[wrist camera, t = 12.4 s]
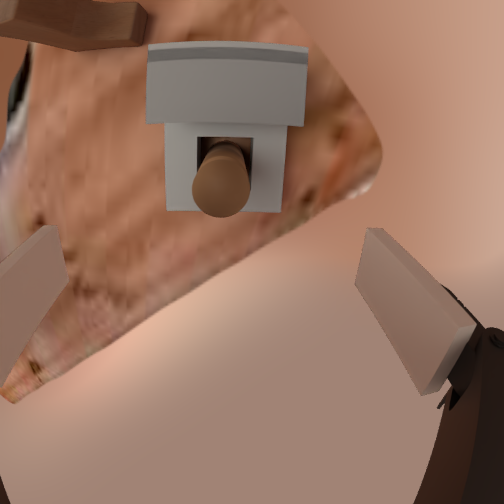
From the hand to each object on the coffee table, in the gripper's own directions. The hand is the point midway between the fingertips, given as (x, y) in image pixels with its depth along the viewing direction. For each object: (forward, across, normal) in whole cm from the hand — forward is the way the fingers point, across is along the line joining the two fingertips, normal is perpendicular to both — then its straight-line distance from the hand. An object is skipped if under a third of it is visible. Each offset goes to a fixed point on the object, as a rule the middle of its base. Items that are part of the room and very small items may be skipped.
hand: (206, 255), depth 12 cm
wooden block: (+24, -13, +16) cm, 32 cm away
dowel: (+24, 0, 0) cm, 24 cm away
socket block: (+24, +1, +3) cm, 24 cm away
